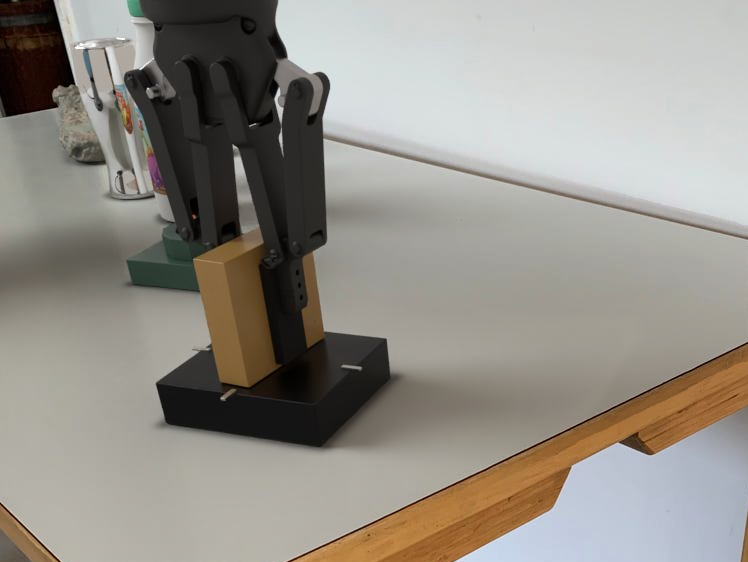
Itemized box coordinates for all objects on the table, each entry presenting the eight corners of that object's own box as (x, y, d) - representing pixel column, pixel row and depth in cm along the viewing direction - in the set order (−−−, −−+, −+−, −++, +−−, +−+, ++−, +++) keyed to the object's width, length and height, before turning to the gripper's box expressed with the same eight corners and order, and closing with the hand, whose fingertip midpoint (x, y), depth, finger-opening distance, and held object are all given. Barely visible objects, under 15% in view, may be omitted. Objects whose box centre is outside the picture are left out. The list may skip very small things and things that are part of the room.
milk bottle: (232, 200, 109) (191, -14, 97) (233, 220, 103) (190, -5, 91) (161, 207, 108) (111, -8, 95) (158, 227, 102) (105, 1, 90)
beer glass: (136, 203, 110) (98, 49, 100) (93, 196, 113) (53, 46, 103) (180, 187, 114) (148, 38, 105) (139, 181, 117) (104, 35, 108)
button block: (132, 284, 89) (120, 238, 87) (187, 252, 96) (178, 209, 93) (236, 294, 86) (226, 248, 83) (286, 261, 92) (279, 217, 90)
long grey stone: (57, 180, 124) (138, 175, 127) (46, 134, 121) (129, 130, 123) (60, 110, 149) (128, 107, 152) (51, 71, 146) (121, 68, 148)
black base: (148, 429, 66) (136, 386, 64) (249, 353, 76) (241, 313, 74) (321, 456, 62) (314, 411, 60) (404, 372, 72) (401, 330, 70)
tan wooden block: (249, 388, 64) (223, 259, 58) (219, 382, 65) (191, 254, 59) (325, 337, 70) (308, 216, 65) (297, 332, 71) (278, 212, 65)
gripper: (357, -78, 52) (398, 349, 67) (133, -74, 57) (216, 318, 72) (275, -66, 47) (339, 394, 61) (37, -63, 52) (148, 357, 67)
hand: (272, 352), depth 67 cm, fingers closed on tan wooden block, 2 cm apart
